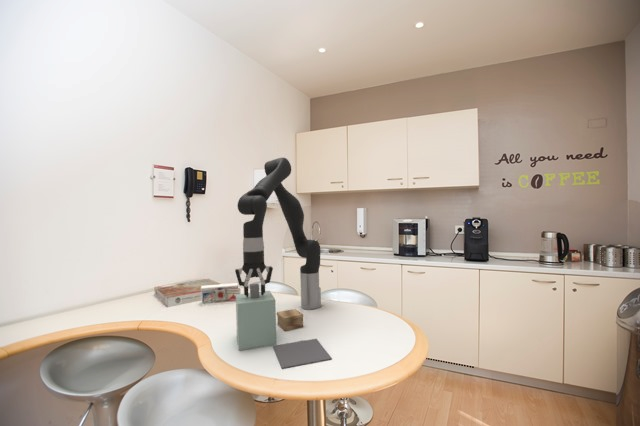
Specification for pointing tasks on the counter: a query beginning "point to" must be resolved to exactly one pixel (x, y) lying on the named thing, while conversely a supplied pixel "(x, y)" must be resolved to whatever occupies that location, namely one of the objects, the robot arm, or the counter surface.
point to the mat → (300, 353)
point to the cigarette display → (219, 294)
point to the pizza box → (182, 292)
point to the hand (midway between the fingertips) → (254, 295)
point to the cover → (255, 319)
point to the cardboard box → (290, 319)
